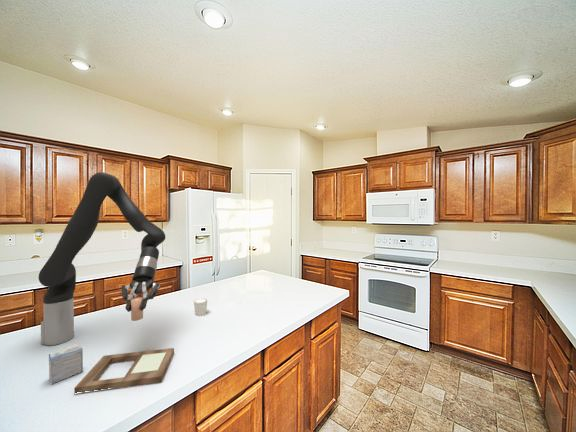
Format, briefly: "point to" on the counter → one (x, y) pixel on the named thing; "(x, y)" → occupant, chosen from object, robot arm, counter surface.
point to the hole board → (142, 371)
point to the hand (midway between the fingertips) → (135, 310)
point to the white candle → (200, 307)
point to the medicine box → (65, 363)
